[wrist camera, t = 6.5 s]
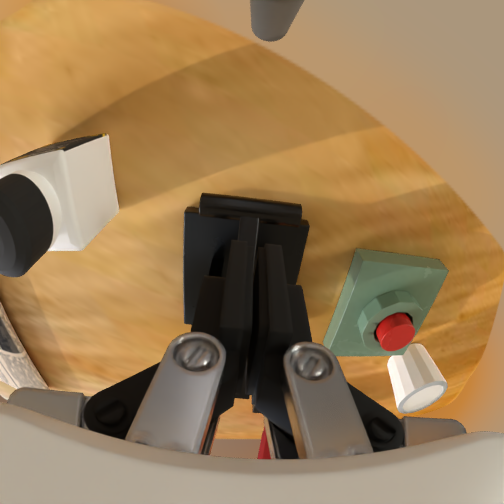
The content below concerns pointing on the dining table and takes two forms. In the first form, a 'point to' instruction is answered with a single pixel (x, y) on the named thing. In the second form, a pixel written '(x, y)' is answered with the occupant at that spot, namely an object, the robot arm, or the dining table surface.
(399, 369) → the white cup
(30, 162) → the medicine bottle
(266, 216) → the lever
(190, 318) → the bracket
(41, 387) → the newspaper
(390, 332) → the button
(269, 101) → the dining table surface
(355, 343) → the button box
